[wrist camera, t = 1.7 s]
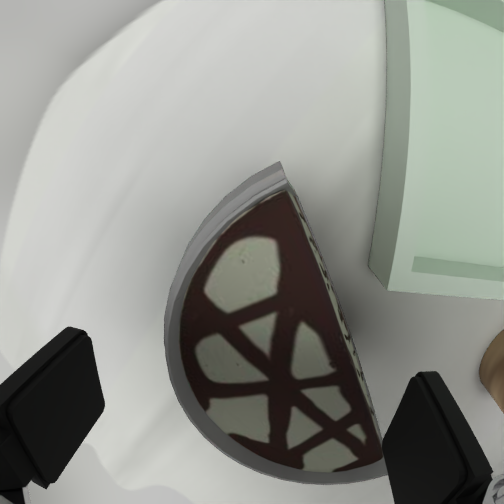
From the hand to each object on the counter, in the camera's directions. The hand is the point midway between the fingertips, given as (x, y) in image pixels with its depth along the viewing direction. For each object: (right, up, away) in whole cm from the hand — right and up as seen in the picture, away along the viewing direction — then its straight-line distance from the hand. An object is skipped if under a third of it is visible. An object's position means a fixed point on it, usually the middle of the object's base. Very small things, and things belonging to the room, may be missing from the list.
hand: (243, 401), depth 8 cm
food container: (+2, +2, +10) cm, 11 cm away
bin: (+16, +11, +6) cm, 21 cm away
